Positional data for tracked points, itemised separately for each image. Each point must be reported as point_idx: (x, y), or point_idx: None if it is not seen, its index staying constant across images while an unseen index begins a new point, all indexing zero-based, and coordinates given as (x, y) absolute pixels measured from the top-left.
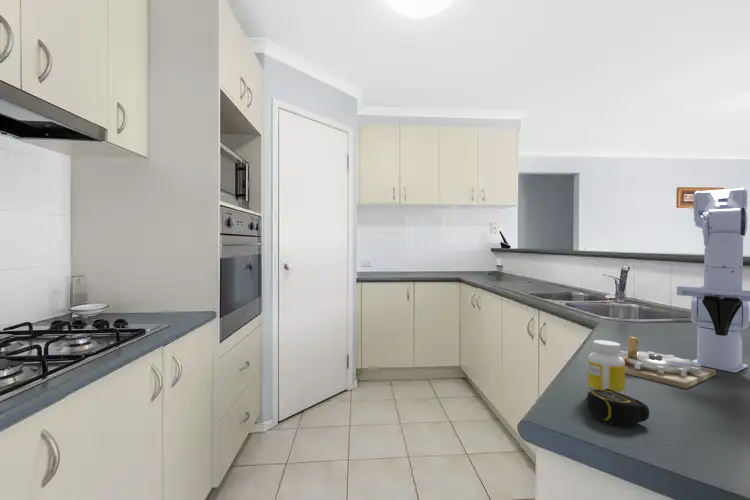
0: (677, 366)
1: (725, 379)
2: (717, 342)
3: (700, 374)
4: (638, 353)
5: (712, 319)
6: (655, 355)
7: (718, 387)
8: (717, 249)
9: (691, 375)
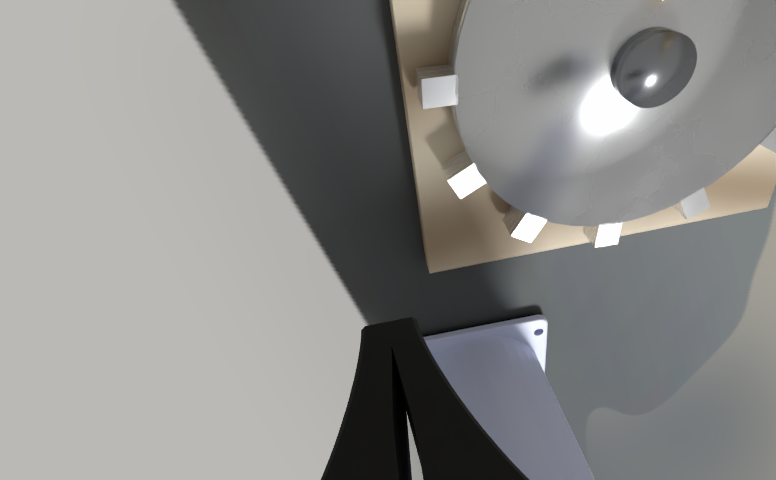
0: (504, 4)
1: (376, 232)
2: (490, 432)
3: (424, 125)
4: (746, 96)
5: (456, 405)
6: (658, 63)
7: (314, 59)
8: None
9: (437, 52)
